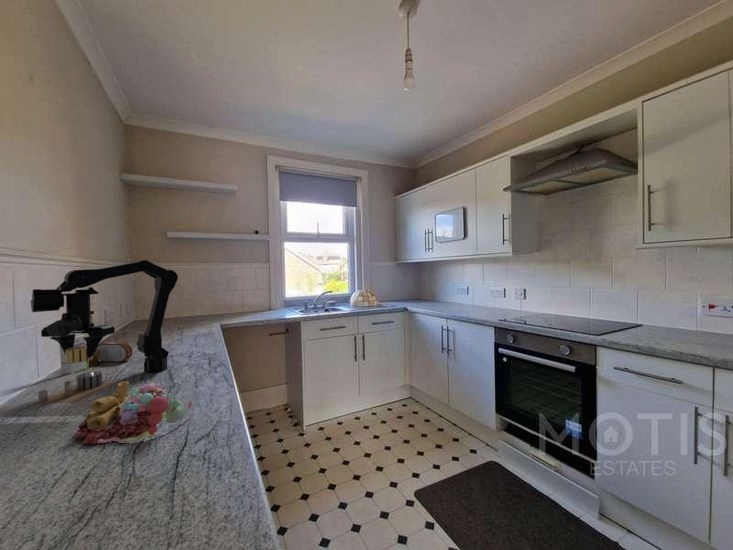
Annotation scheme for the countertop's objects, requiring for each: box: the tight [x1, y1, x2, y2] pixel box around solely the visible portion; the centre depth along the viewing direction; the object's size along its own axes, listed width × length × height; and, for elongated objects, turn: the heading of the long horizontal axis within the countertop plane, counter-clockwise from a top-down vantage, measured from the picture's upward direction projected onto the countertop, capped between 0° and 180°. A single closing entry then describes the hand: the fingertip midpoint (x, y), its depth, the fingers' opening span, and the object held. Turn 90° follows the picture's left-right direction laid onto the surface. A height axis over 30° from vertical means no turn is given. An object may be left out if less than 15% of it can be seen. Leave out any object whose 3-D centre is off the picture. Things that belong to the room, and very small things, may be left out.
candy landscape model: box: [74, 380, 193, 445], centre depth 81 cm, size 25×24×9 cm
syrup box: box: [59, 333, 90, 376], centre depth 117 cm, size 6×6×14 cm
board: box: [33, 380, 118, 405], centre depth 98 cm, size 12×16×6 cm
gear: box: [75, 370, 103, 390], centre depth 101 cm, size 6×6×4 cm
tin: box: [97, 340, 133, 363], centre depth 133 cm, size 15×3×8 cm, turn 85°
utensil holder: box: [89, 348, 100, 368], centre depth 127 cm, size 6×6×12 cm
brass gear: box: [66, 346, 93, 363], centre depth 100 cm, size 6×6×4 cm
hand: (79, 357), depth 100 cm, fingers closed on brass gear, 6 cm apart
